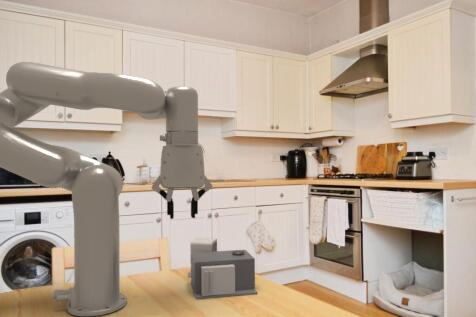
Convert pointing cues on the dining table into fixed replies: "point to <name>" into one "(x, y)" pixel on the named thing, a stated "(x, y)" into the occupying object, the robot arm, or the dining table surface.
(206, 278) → the door
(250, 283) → the camera case
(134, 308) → the dining table surface
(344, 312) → the dining table surface
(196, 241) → the white rounded housing
